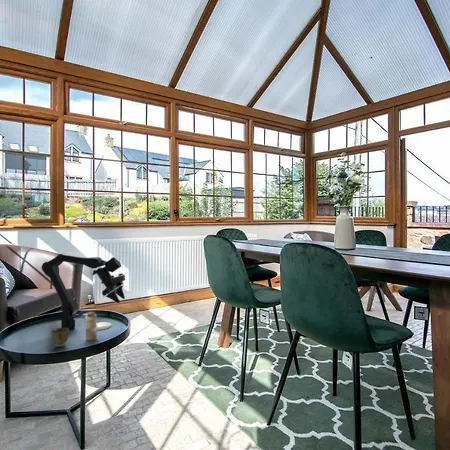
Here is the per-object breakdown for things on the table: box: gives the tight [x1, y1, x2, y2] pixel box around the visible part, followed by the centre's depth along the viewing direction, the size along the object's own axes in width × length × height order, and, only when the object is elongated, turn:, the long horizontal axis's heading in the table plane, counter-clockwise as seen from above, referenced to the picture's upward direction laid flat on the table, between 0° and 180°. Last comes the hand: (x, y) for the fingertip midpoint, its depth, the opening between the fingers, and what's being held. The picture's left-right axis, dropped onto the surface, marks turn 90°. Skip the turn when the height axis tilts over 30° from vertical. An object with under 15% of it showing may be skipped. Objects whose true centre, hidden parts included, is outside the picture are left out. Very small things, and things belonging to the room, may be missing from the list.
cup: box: [51, 326, 70, 348], centre depth 156 cm, size 8×7×8 cm
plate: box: [96, 321, 112, 331], centre depth 185 cm, size 11×11×1 cm
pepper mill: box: [85, 311, 98, 342], centre depth 165 cm, size 5×5×13 cm
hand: (121, 300), depth 182 cm, fingers open, 9 cm apart
